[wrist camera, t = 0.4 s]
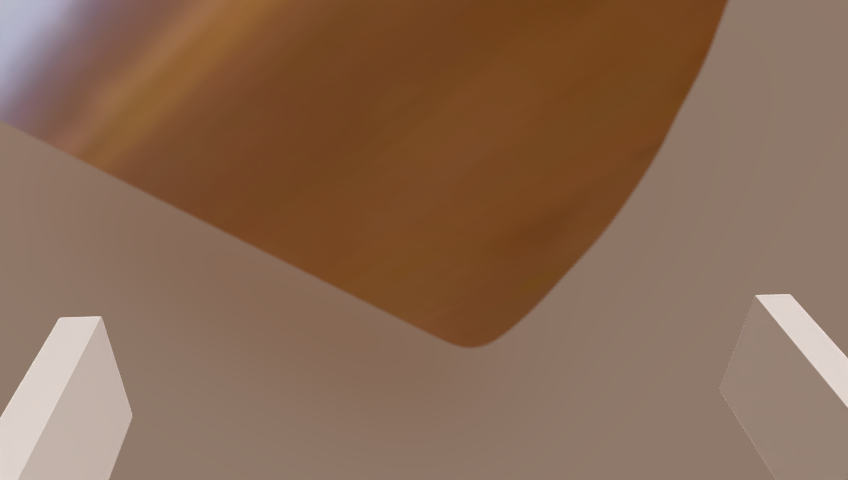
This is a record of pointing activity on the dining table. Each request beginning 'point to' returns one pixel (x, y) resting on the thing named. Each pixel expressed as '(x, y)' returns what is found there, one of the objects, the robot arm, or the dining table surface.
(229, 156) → the dining table surface
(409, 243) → the dining table surface
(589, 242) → the dining table surface
